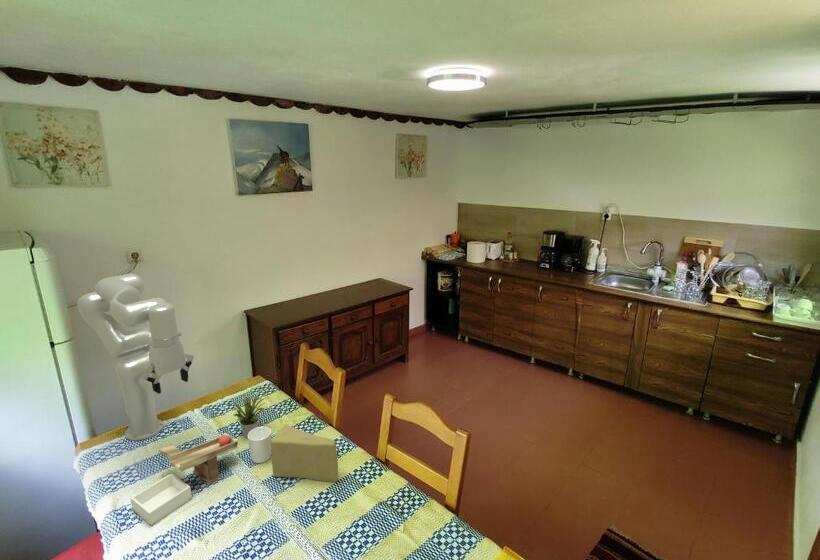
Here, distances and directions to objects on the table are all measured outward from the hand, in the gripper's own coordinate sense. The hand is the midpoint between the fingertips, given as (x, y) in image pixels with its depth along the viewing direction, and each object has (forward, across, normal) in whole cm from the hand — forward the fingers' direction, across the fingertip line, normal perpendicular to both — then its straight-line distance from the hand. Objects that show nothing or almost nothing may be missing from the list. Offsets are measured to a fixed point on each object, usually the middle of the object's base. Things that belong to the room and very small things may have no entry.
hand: (171, 386), depth 139 cm
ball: (+19, -6, +17) cm, 26 cm away
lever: (+21, +1, +13) cm, 25 cm away
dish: (+28, +16, +17) cm, 36 cm away
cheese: (+28, -18, +45) cm, 56 cm away
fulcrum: (+28, +1, +17) cm, 33 cm away
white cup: (+28, -15, +25) cm, 40 cm away
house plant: (+28, -22, +12) cm, 38 cm away
